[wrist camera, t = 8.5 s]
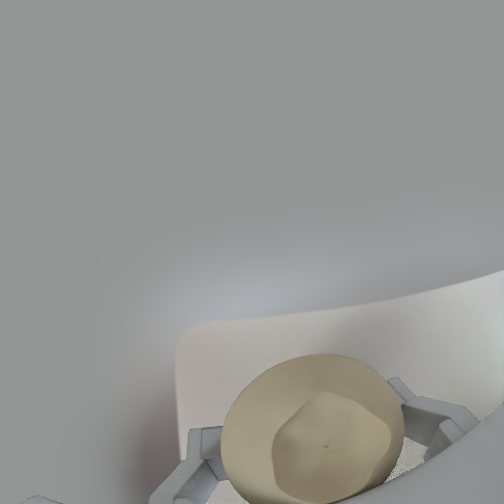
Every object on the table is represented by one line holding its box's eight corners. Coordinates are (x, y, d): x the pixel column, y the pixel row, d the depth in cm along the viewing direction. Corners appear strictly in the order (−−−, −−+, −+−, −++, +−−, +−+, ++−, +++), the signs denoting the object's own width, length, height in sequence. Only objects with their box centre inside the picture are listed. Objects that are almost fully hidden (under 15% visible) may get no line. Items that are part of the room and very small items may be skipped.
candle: (240, 382, 15) (209, 349, 6) (332, 375, 15) (417, 329, 6) (242, 468, 12) (217, 544, 3) (337, 459, 12) (427, 506, 3)
